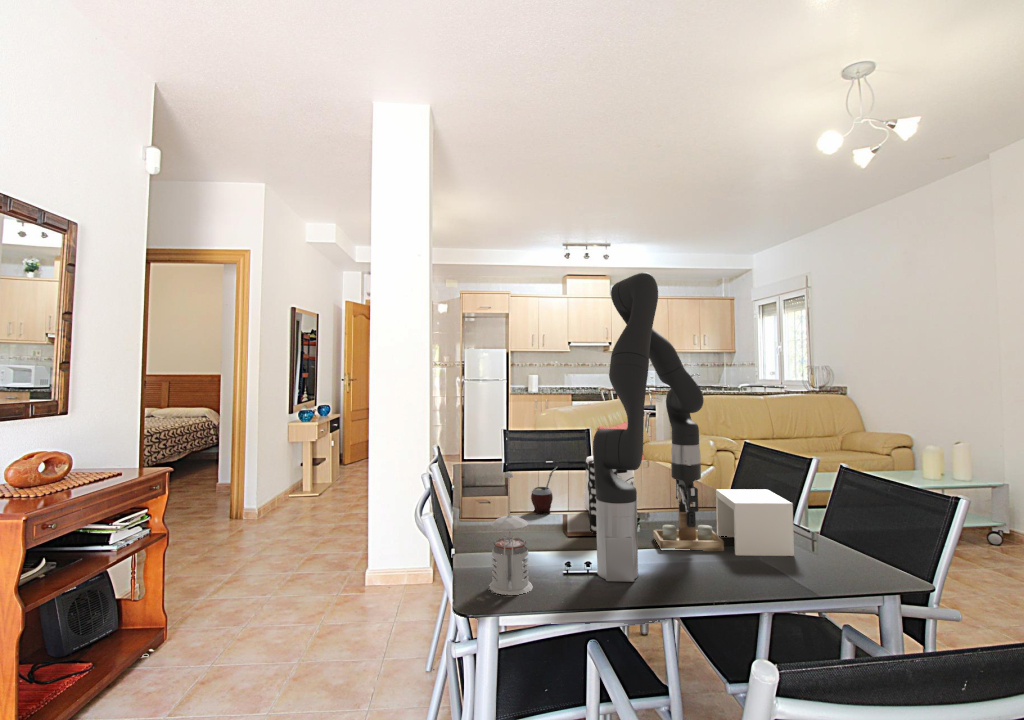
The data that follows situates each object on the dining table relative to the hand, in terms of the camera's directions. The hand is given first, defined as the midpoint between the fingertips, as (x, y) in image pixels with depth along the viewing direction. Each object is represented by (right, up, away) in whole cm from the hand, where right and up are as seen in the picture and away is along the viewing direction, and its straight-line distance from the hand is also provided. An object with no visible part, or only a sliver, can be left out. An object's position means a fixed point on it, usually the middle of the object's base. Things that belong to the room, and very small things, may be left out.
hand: (687, 522), depth 146 cm
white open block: (+17, -6, -1) cm, 18 cm away
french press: (-47, -6, -28) cm, 55 cm away
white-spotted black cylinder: (-20, -7, +13) cm, 25 cm away
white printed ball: (-14, -7, +33) cm, 37 cm away
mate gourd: (-36, -8, +35) cm, 51 cm away
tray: (0, -6, 0) cm, 6 cm away
